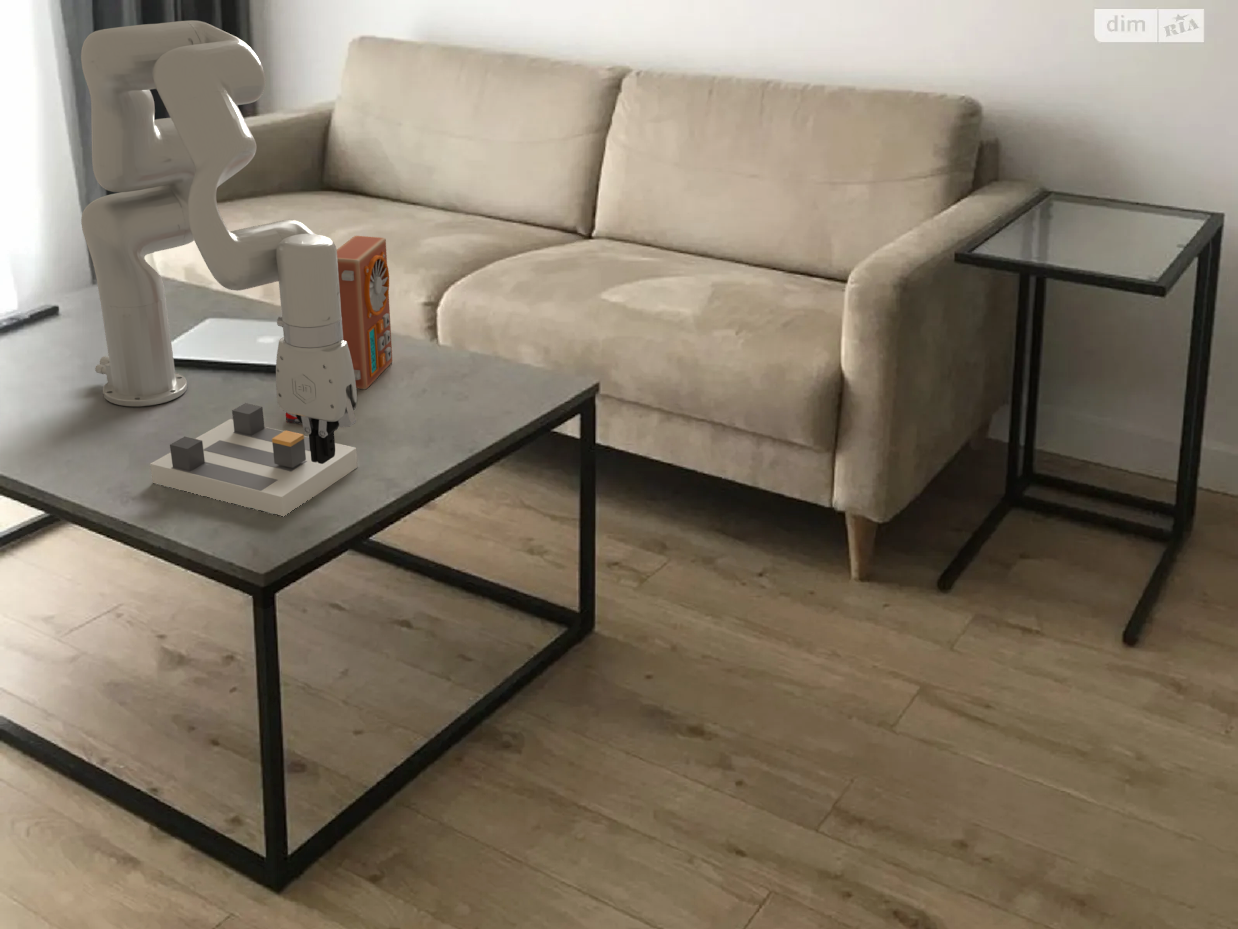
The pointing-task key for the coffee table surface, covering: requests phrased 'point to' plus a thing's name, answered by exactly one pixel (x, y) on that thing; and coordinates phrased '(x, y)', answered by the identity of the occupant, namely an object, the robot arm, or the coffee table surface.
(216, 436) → the board
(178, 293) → the coffee table surface
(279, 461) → the block
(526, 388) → the coffee table surface
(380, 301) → the control panel
